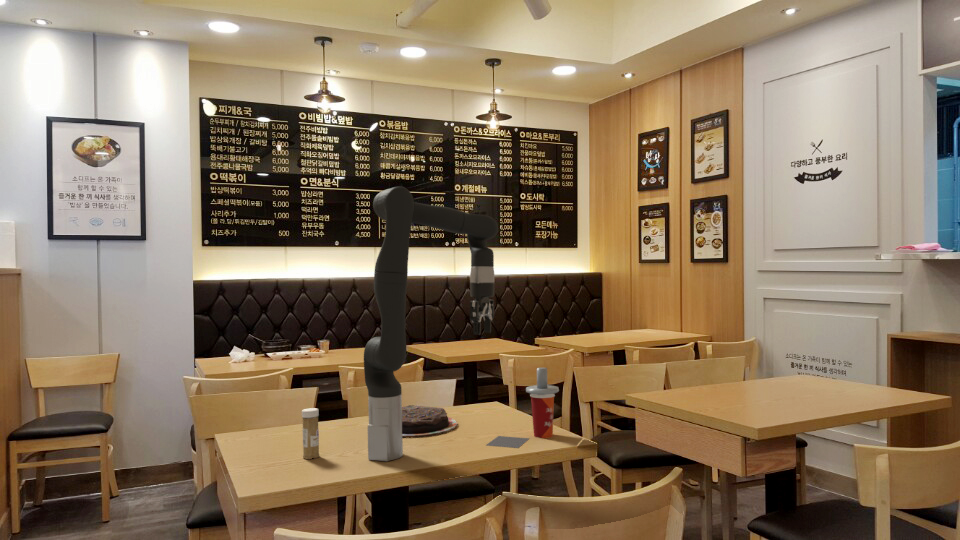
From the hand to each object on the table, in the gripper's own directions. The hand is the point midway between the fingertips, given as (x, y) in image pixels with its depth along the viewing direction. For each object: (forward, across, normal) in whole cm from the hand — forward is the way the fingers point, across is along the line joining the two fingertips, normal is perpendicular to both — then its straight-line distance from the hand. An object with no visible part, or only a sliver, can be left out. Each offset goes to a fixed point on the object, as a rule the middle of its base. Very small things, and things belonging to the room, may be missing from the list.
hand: (482, 333), depth 197 cm
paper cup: (+32, -6, +18) cm, 37 cm away
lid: (+17, -5, +18) cm, 25 cm away
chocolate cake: (+33, -5, -26) cm, 42 cm away
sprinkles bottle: (+33, +35, -37) cm, 61 cm away
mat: (+32, +4, +10) cm, 34 cm away
